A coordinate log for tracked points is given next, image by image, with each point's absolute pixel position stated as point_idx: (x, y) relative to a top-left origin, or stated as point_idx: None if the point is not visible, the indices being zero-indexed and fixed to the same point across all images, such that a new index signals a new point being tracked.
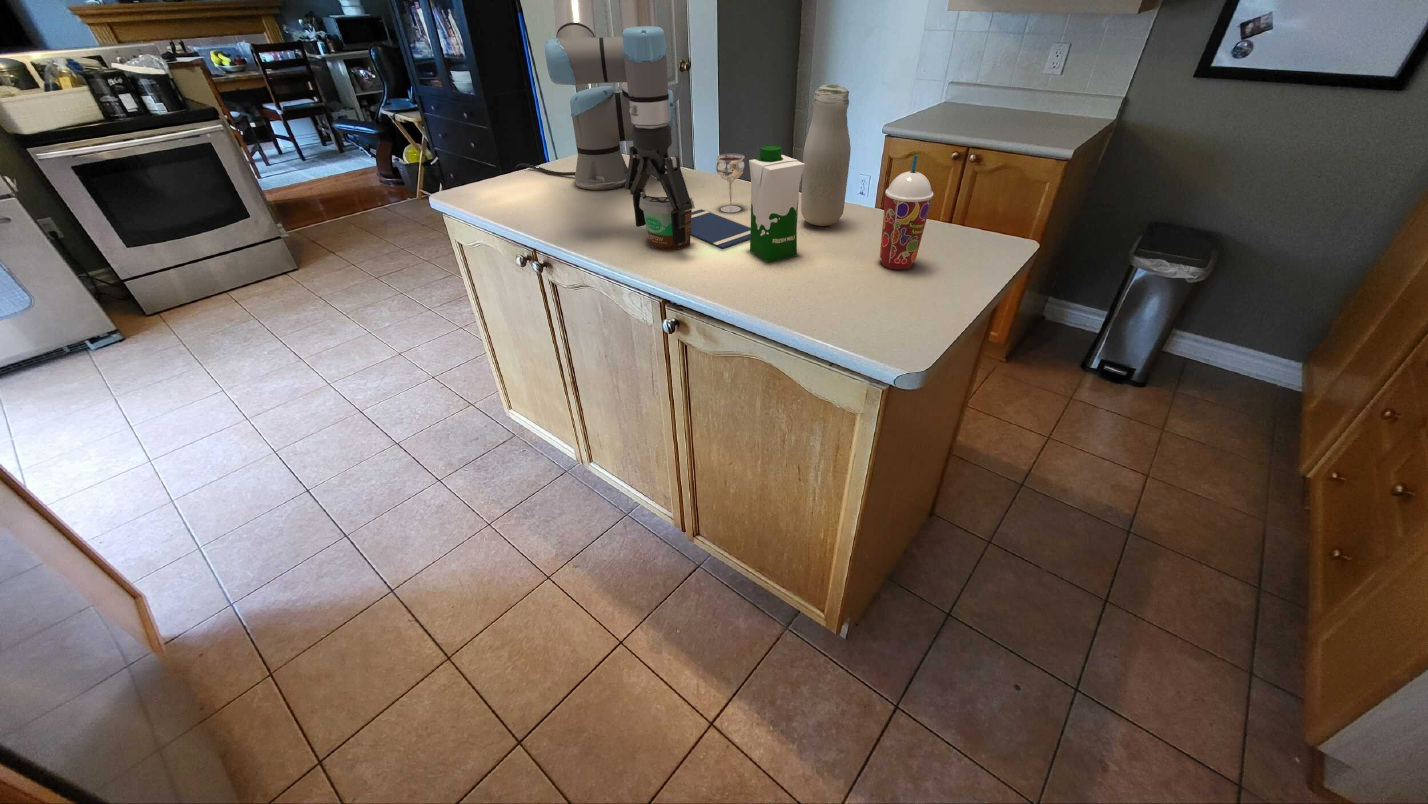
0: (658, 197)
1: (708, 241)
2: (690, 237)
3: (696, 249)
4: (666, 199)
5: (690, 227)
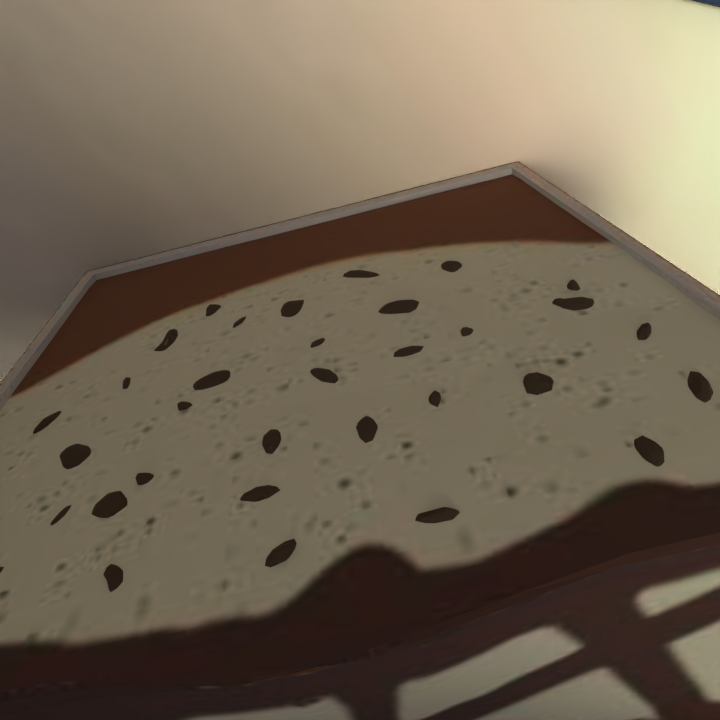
0: (109, 710)
1: (700, 1)
2: (554, 186)
3: (634, 213)
4: (393, 712)
5: (618, 238)
